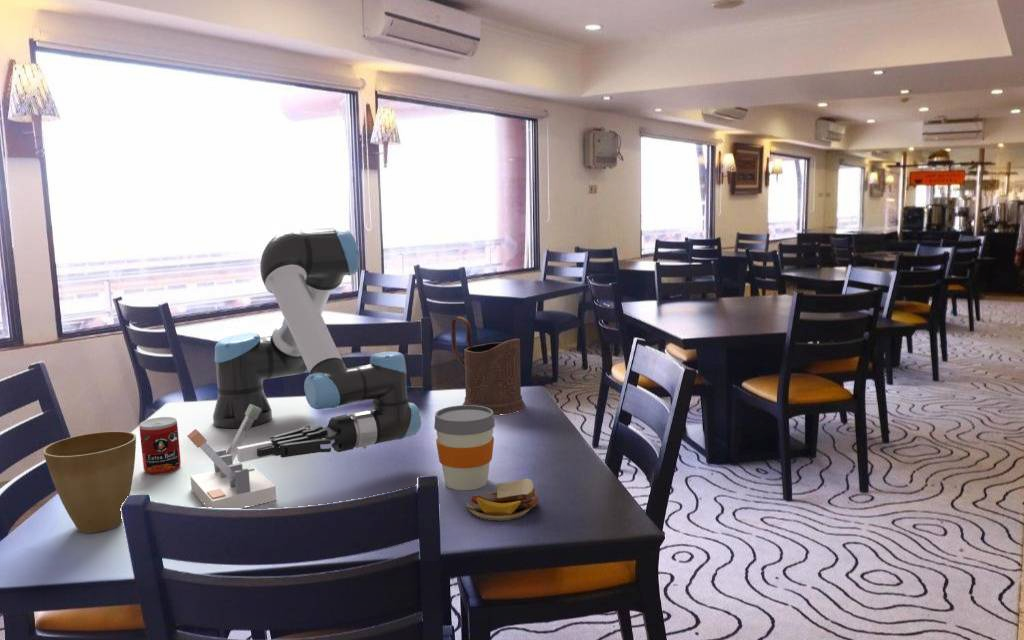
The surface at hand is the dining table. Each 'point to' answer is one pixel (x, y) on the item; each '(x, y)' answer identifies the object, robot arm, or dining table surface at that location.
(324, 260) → the robot arm
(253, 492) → the console
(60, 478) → the plant pot
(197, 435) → the lever
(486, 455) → the reusable coffee cup
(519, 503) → the toy sandwich meal
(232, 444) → the lever
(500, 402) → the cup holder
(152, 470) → the canned food
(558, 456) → the dining table surface
